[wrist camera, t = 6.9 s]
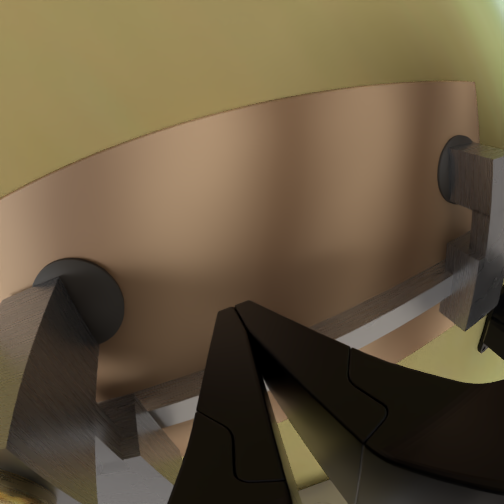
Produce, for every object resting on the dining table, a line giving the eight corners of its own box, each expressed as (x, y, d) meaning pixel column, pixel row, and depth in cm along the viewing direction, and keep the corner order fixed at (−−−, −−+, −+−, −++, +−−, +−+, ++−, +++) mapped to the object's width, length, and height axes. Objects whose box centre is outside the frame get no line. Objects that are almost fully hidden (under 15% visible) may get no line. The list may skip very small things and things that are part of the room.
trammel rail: (474, 139, 12) (518, 151, 10) (465, 283, 16) (497, 305, 13) (-8, 300, 8) (-35, 348, 6) (103, 441, 12) (106, 487, 10)
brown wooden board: (455, 80, 12) (477, 82, 10) (450, 309, 18) (464, 320, 17) (-46, 225, 8) (-65, 239, 6) (116, 454, 14) (118, 474, 13)
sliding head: (75, 269, 8) (25, 512, 2) (174, 427, 12) (218, 579, 6) (-10, 304, 8) (-85, 496, 2) (104, 446, 12) (123, 589, 5)
